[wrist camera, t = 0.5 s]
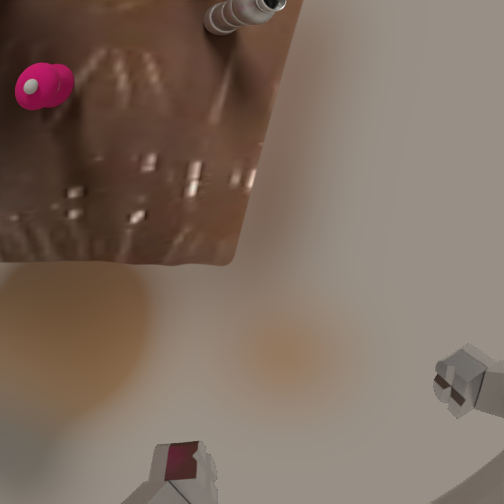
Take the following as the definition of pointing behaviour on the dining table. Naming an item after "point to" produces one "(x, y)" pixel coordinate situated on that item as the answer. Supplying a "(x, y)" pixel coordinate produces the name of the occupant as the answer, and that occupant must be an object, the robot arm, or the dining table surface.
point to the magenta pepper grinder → (44, 86)
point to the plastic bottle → (239, 14)
